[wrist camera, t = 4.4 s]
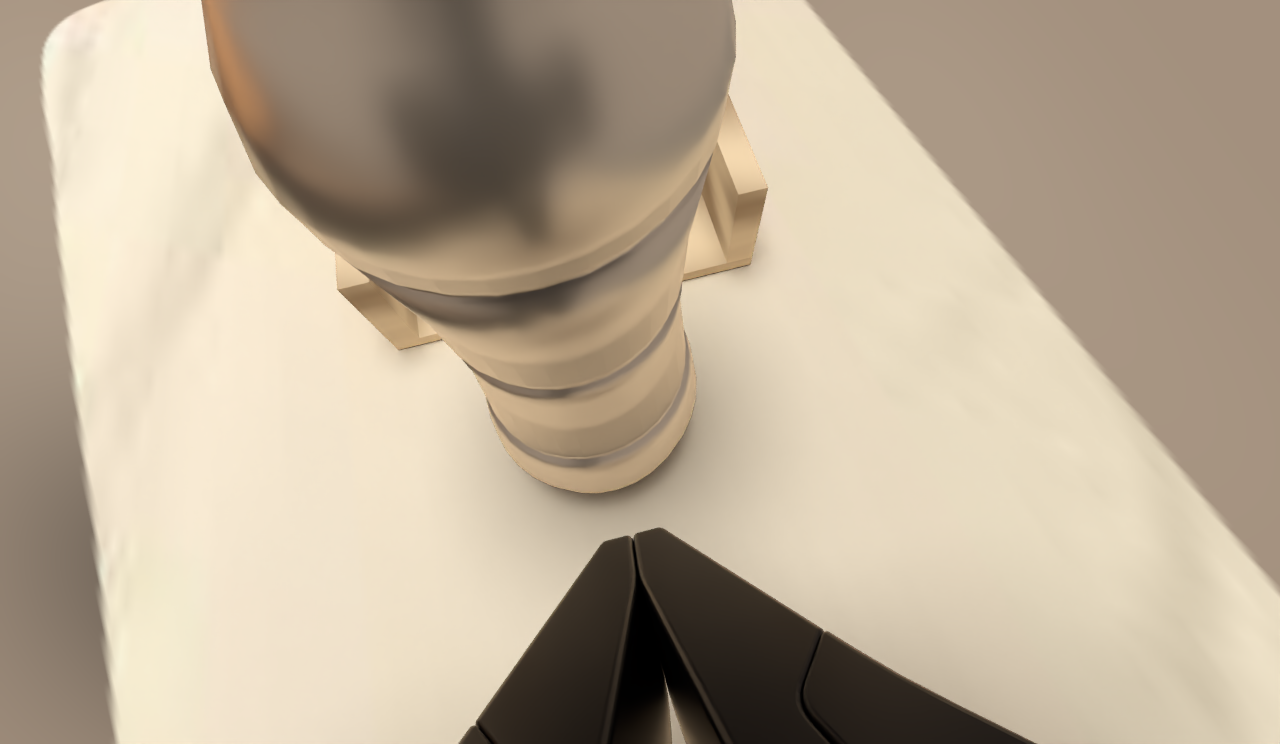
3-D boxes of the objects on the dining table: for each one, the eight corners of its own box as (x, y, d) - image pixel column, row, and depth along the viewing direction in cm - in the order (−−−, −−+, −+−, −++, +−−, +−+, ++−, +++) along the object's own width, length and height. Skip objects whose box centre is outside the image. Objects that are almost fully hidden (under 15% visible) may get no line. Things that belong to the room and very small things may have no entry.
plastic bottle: (475, 448, 21) (-997, -826, 2) (578, 301, 23) (208, -990, 4) (631, 543, 19) (-114, -878, 1) (726, 377, 21) (1081, -1085, 3)
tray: (750, 264, 23) (767, 187, 19) (398, 349, 23) (337, 289, 18) (616, -85, 32) (608, -189, 28) (359, -31, 31) (312, -130, 27)
